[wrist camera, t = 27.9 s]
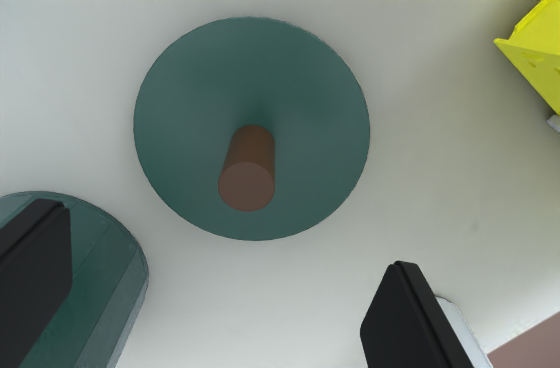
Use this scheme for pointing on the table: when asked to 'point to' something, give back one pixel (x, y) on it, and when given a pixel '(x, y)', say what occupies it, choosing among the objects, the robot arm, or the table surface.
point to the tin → (89, 288)
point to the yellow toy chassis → (538, 52)
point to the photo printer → (465, 334)
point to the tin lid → (251, 128)
